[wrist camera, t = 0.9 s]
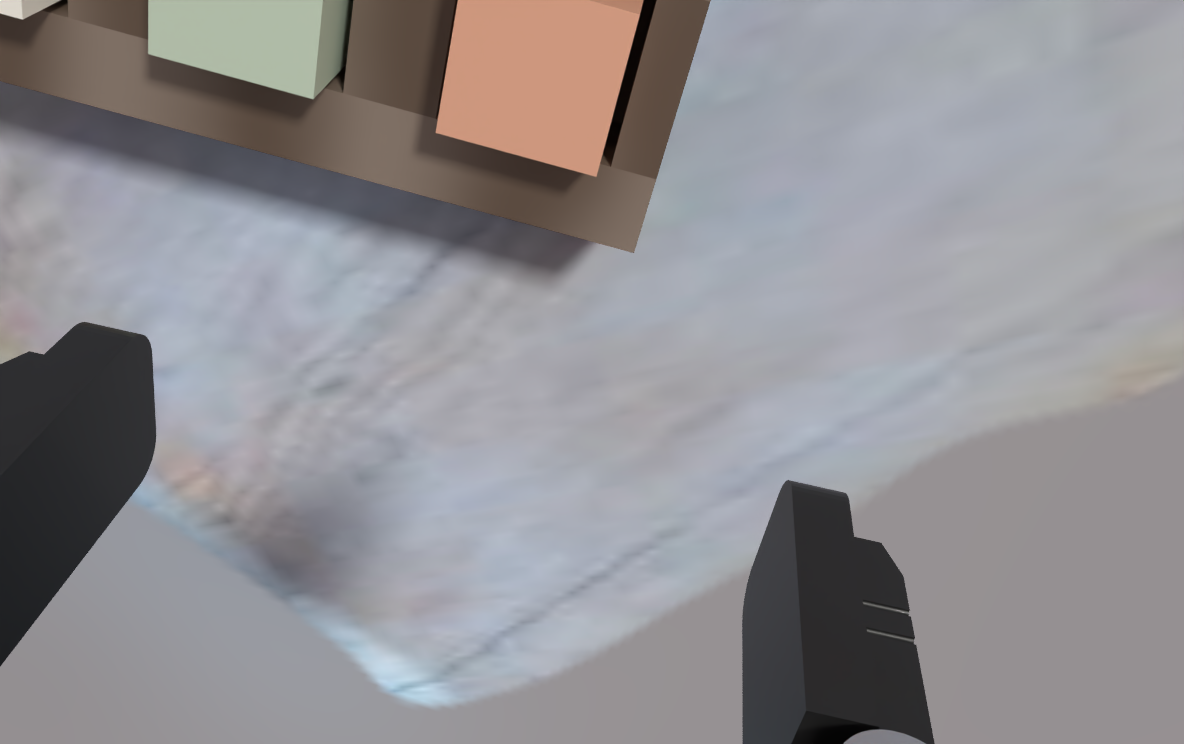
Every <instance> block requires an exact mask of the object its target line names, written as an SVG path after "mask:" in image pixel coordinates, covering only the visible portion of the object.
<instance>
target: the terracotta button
mask: <svg viewBox="0 0 1184 744" xmlns="http://www.w3.org/2000/svg"><path fill="white" fill-rule="evenodd" d="M642 4H643V0H458V3H457V9H456V15H455V21H454V27H453V33H452V38H451V44H450V50H449V56H448V62H447V68H446V74H445V80H444V86H443V92H442V98H441V104H440V110H439V115H438V121H437V127H436V133H438V134H442V135H445V136H449V137H453V138H456V139H460V140H464V141H467V142H471V143H475V144H478V145H482V146H485V147H489V148H493V149H496V150H500V151H504V152H507V153H511V154H515V155H518V156H522V157H526V158H529V159H533V160H537V161H540V162H544V163H547V164H551V165H555V166H558V167H562V168H566V169H569V170H573V171H577V172H580V173H584V174H588V175H591V176H595V177H597V173H598V169H599V165H600V162H601V158H602V154H603V150H604V147H605V143H606V139H607V136H608V132H609V128H610V124H611V121H612V117H613V113H614V109H615V106H616V102H617V98H618V95H619V91H620V87H621V83H622V80H623V76H624V72H625V68H626V65H627V61H628V57H629V54H630V50H631V46H632V42H633V39H634V35H635V31H636V27H637V24H638V20H639V16H640V12H641V8H642Z"/></svg>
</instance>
